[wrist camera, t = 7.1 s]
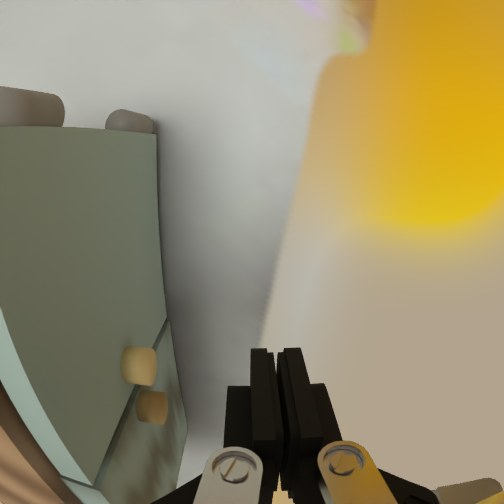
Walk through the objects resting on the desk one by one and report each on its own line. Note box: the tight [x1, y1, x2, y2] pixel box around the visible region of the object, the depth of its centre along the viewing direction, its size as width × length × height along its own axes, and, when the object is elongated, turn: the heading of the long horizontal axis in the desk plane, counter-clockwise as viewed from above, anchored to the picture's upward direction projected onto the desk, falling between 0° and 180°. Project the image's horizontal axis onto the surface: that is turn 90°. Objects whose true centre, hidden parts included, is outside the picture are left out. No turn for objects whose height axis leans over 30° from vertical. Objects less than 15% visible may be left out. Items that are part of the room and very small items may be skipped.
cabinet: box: [0, 321, 188, 504], centre depth 14 cm, size 24×15×15 cm, turn 179°
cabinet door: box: [0, 86, 167, 486], centre depth 12 cm, size 13×3×13 cm, turn 179°
